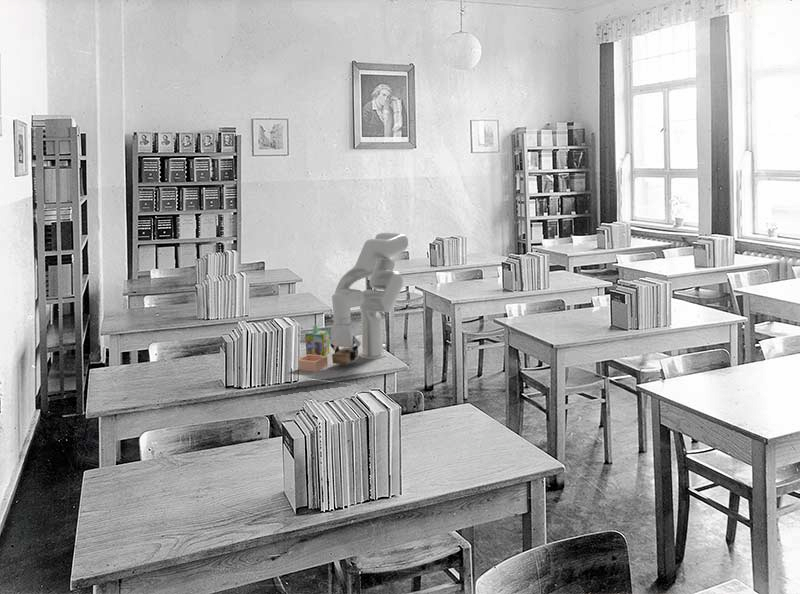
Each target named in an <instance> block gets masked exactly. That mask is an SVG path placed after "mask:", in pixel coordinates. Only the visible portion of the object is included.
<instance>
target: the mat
mask: <svg viewBox="0 0 800 594" xmlns="http://www.w3.org/2000/svg"><path fill="white" fill-rule="evenodd" d="M361 363H362V362H361ZM361 363H360V362H353V361H351V362H350V363H348V364H347V365H345V364H334V365H332V366H330V367H328V368H326V369H325V370H329V371H336V372H348V371H350V370H352V369H353V368H355V367H357V366H358V365H360V364H361Z"/></svg>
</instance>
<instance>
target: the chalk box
mask: <svg viewBox="0 0 800 594" xmlns="http://www.w3.org/2000/svg"><path fill="white" fill-rule="evenodd" d="M329 336H330V335H329V330H322V329H318V326H317V324H314V325H313V330H309V331H308V332H306V333H305V334H304V337H305V338H304V339H305V355H308V354H311V355H320V356H327V357H328V355H329V354H330V344H329V343H328V341H329V340H330V337H329Z"/></svg>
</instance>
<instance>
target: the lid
mask: <svg viewBox="0 0 800 594" xmlns="http://www.w3.org/2000/svg"><path fill="white" fill-rule="evenodd" d="M350 352H351V350H350V348H349V347H342V348H341V349H340V350H339V351H337V352H336V353H335V352H334V353H333V354H331V357H332V364H334V365H335V364H345V365H347V364H348V363H350V362H352V361H351V356H350ZM355 353H356V358H355V359H354V360H356V359H357V358H359V347H358V348H357V349H356V350H355Z"/></svg>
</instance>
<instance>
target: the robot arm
mask: <svg viewBox="0 0 800 594" xmlns="http://www.w3.org/2000/svg"><path fill="white" fill-rule="evenodd" d="M408 246H409V239H408V236H407V235H405V234H403V233H397V232H379V233H377V234H376V235H375V237H374V238H371V239H370V238H369V239H367V240H366V241H365V242H364V243H363V246H362V248H361V251H360V253H359V256H358V258H357V260H356V263H355V264H354V266H353V267H352V268H351V269H350V270H348V271H347V272H346V273H345V274H344V275H343V276H342V277H341V278H340V279H339V281H338V284H337V286H336V288H335V291H334V293H333V294H332V296H331V301H332V302H331V303H332V314H333V316H332V317H331V321H333V323H332V326H331V338H329V341H328V343H329V346H330V347H331V348H332V349H333V351H334V353H336V352H337V351H339V350H341V349H340V347H342V348H344V347H346V348H350V350H351V352H350V356H351V362H353V361H354V360H356V359H357V358H356V353H355V350H356V349H357V348H358V349H359V347H360V346H361V345H362V349H361V350H362V352H360V353H358V357H360V358H361V359H365V360H378V359H379V360H380V359H382V358H385V357H387V352H385V351H384V350H383V349H385V348H386V344H384V343H383V318H382V315H381V313H389V312H391V311H392V310H393V309H394V307H395V305H396V303H397V300H398V299H399V295H400V294H401V290H402V288H403V285H404V284H403V283H404V278H403V276H402V274H401V273H400V272H399V271H396V270H394V269H395V266H396V265H395V264H396V261H395V257H396V256H398V255H400V254H402V253H404V252H405V251H406V250H407V249H408ZM369 276H370V279H369V286H370V287H371V288H372V289H365V290H363V291H362V290H359V289H355V288H351V286H352V285H353V284H355V283H357V282H358V281H360V280H362V279H365V278H367V277H369ZM357 307H359V309H360V317H361V341H362V342H360V341H359V340H358V339H357V338H356V332H355V328H354V324H353V322H352V318H351V308H357ZM380 312H381V313H380ZM355 358H356V359H355Z"/></svg>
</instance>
